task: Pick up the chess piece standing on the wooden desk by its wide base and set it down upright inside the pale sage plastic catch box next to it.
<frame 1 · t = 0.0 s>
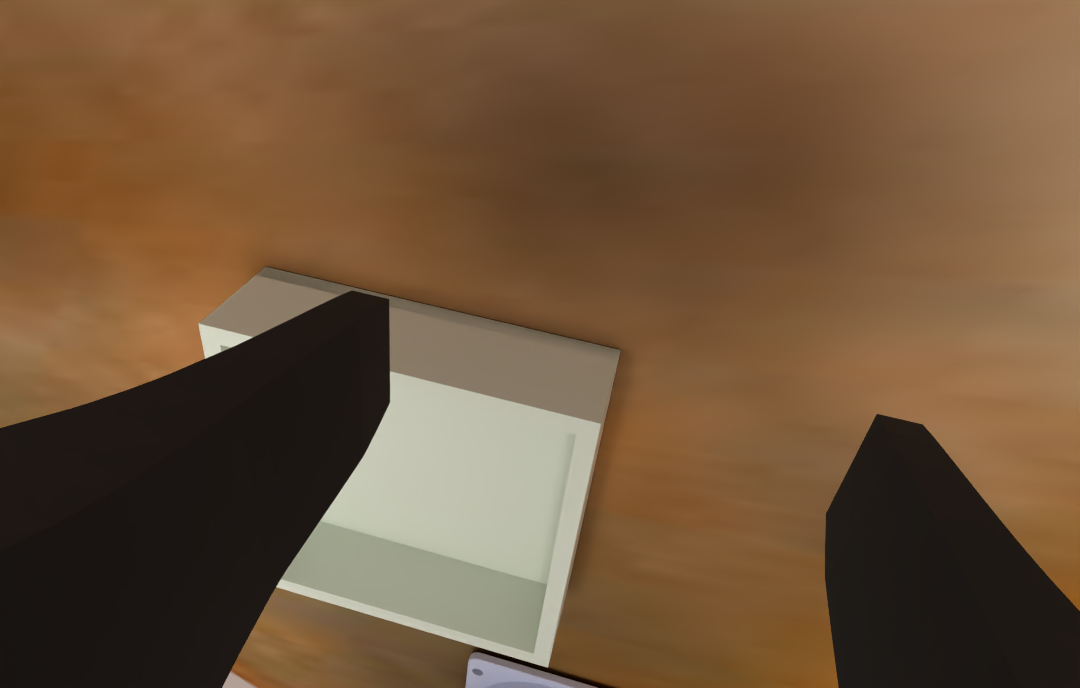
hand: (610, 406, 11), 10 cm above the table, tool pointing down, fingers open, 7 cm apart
catch box: (432, 443, 27), on the table
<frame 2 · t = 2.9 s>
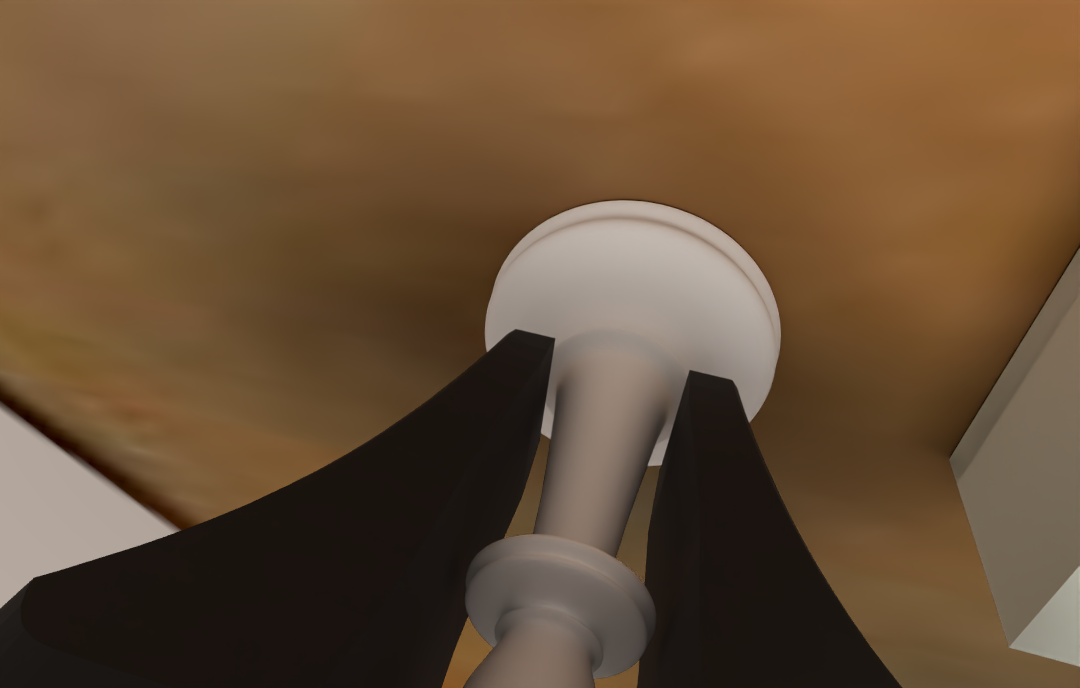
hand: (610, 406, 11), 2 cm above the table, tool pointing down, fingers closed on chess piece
chess piece: (630, 328, 13), on the table, touching gripper
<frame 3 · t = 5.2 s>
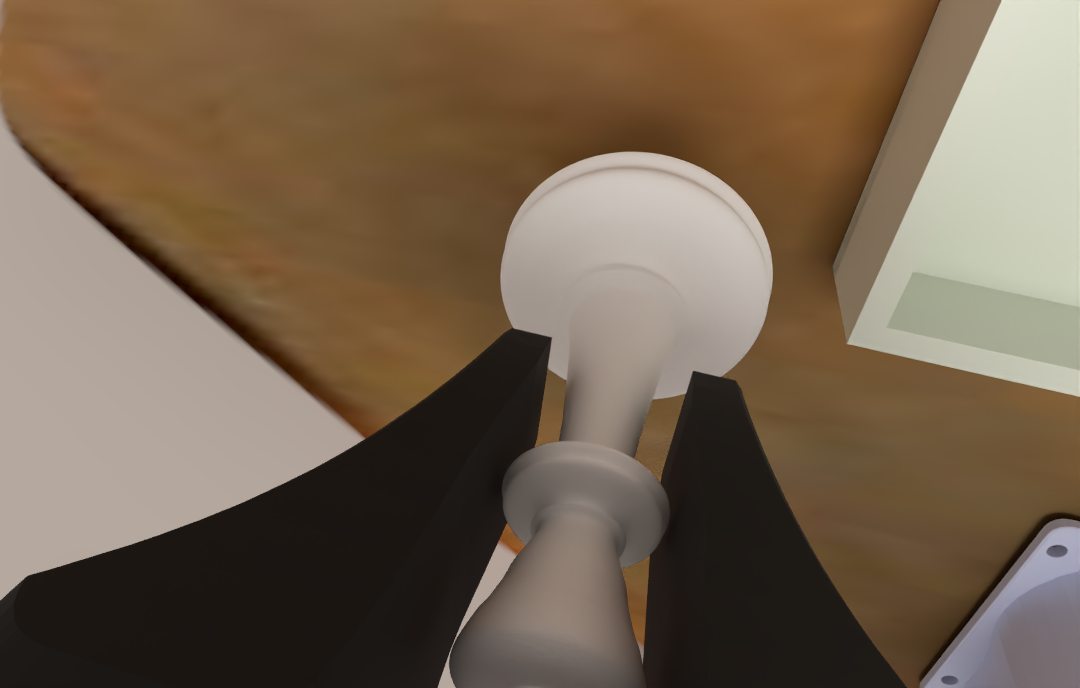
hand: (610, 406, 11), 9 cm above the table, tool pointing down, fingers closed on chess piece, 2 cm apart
chess piece: (634, 272, 14), point 6 cm above the table, touching gripper
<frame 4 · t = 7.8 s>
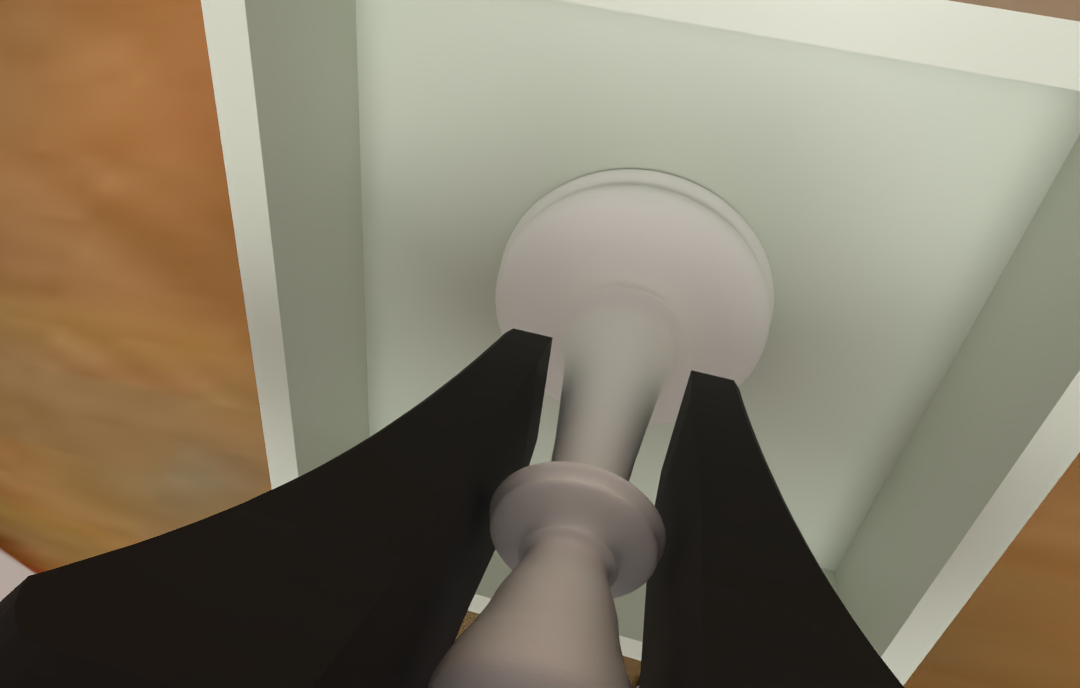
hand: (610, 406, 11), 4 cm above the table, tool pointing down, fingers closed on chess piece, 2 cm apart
chess piece: (632, 293, 13), resting on catch box, touching gripper
catch box: (642, 291, 14), on the table
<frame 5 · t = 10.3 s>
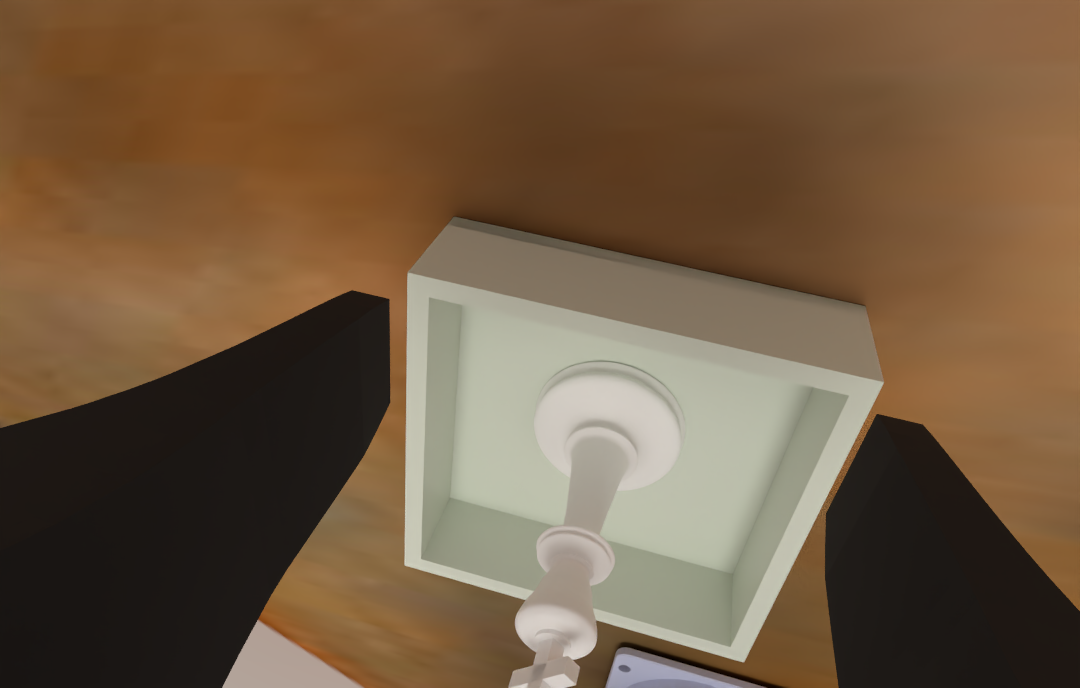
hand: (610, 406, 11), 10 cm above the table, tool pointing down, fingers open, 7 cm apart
chess piece: (610, 418, 24), resting on catch box
catch box: (615, 416, 24), on the table
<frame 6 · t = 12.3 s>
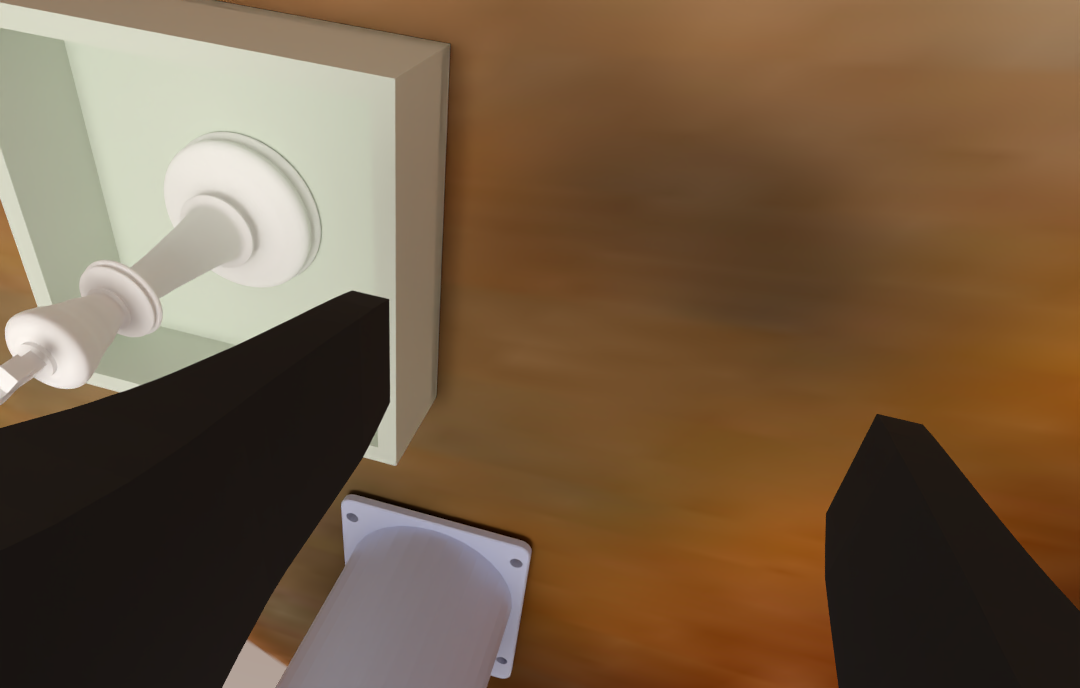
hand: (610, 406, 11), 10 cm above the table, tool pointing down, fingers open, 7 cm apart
chess piece: (251, 207, 23), resting on catch box
catch box: (263, 208, 23), on the table
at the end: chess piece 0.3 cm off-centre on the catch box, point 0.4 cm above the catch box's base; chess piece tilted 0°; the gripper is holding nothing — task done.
